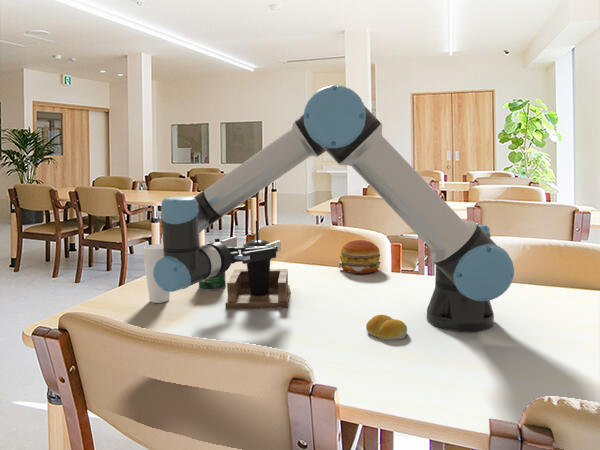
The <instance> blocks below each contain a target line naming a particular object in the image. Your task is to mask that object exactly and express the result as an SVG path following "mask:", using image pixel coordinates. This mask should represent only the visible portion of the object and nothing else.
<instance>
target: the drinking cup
mask: <svg viewBox="0 0 600 450" xmlns="http://www.w3.org/2000/svg"><path fill="white" fill-rule="evenodd" d="M255 237H256V238H255V239H252V240H249V241H247V242H246V243H244V244H243V245H242V247H244V248H254V247H265V245H267V244H270V243H271V242H269V241H268V240H265V239H260V235H259V220H255ZM246 267H247V268H246V269H248V277H249V284H250V291H251V295H254V296H264V295H267V294H268V293H269V276H270V269H271V259H265V260H259V261H253V262H249V263H246Z"/></svg>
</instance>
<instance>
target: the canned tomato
mask: <svg viewBox="0 0 600 450" xmlns="http://www.w3.org/2000/svg"><path fill="white" fill-rule="evenodd" d="M226 287H227V282H226V271H225V272H223V273H221V274H218V275H215V276H213V277H210V278H208V279H205V281H204V282H201V281H200V282H198V289H199V290H201V291H208V292H211V291H214V292H215V291H220V290H223V289H225V288H226Z"/></svg>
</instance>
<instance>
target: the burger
mask: <svg viewBox="0 0 600 450" xmlns="http://www.w3.org/2000/svg"><path fill="white" fill-rule="evenodd" d="M380 251H381V250H380V248H379V247H378V246H377V244H375V243H373V242H371V241H369V240H363V239H362V240H361V239H358V240H351V241H349V242H347V243H345V244H344V245H343V246H342V247H341V249H340V254H339V258H340V260H339V262H338V268H339V269H341V268H342V270H343V271H345V272H348V273H352V274H370V273H373V272H376V271H378V269H379V268H380V264H381V263H382V262H380V257H381V254H380V253H381V252H380Z"/></svg>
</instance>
